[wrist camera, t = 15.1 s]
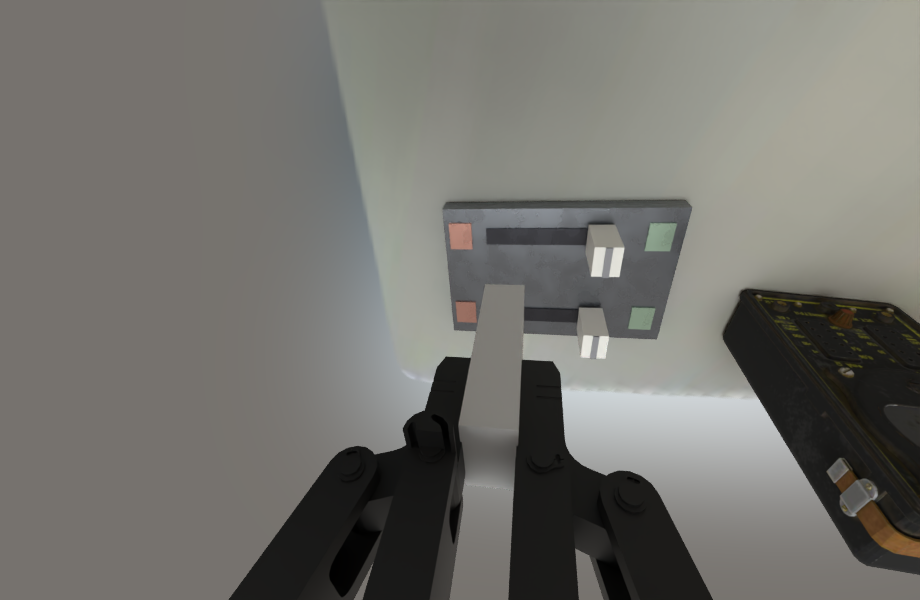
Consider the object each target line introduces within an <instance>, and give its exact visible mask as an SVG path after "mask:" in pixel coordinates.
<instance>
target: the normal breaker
mask: <svg viewBox="0 0 920 600" xmlns="http://www.w3.org/2000/svg"><path fill="white" fill-rule="evenodd" d="M624 248H625V247H624V245H623V242H622V240H621V238H620V235H619V233H618V230H617V228H616V225H589V226H588V235H587V243H586V251H585V252H586V257H587V261H588V266H589V270H590V275H591V277H602V278H609V277H619V276H620V270H621V265H622V259H623V254H624Z"/></svg>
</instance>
